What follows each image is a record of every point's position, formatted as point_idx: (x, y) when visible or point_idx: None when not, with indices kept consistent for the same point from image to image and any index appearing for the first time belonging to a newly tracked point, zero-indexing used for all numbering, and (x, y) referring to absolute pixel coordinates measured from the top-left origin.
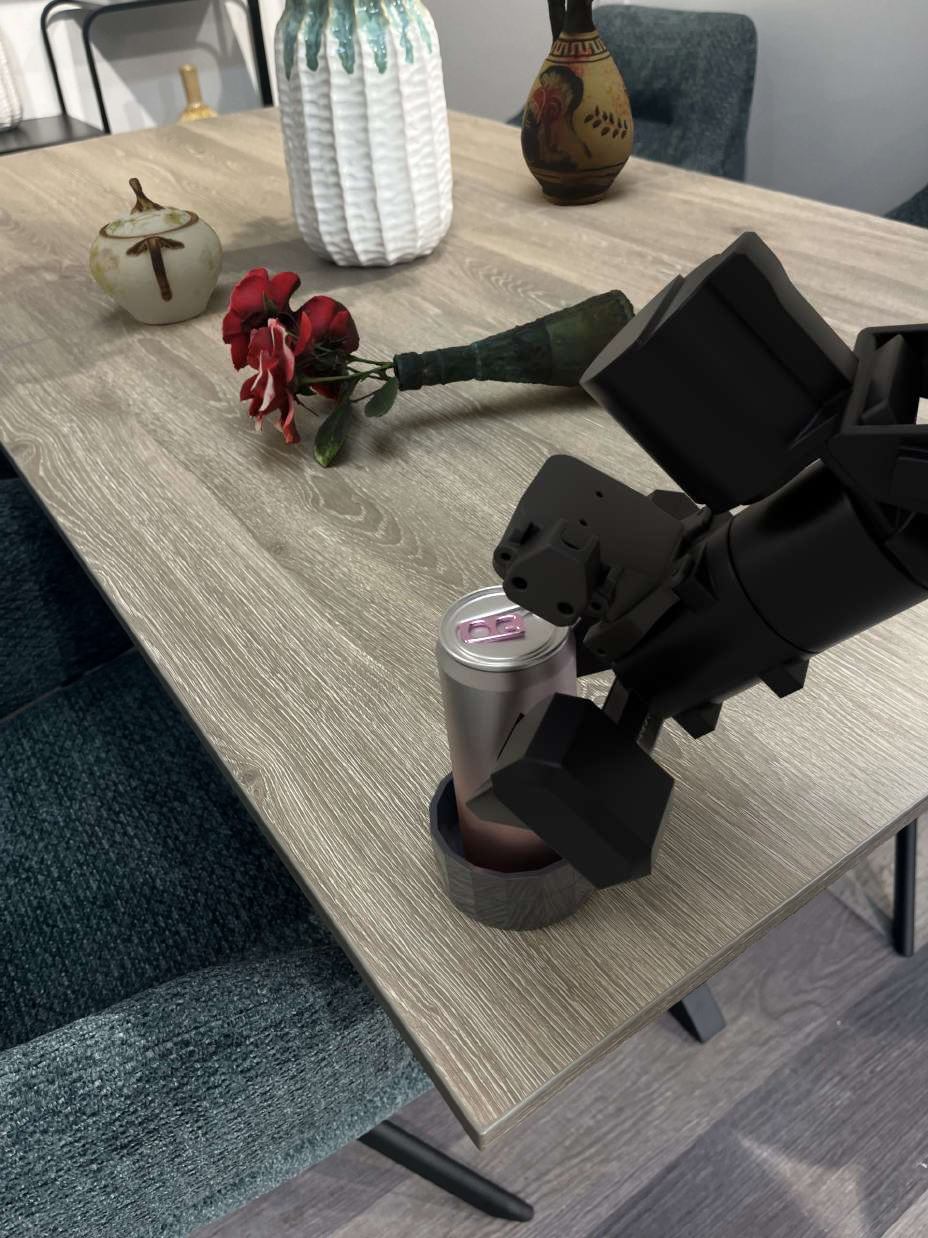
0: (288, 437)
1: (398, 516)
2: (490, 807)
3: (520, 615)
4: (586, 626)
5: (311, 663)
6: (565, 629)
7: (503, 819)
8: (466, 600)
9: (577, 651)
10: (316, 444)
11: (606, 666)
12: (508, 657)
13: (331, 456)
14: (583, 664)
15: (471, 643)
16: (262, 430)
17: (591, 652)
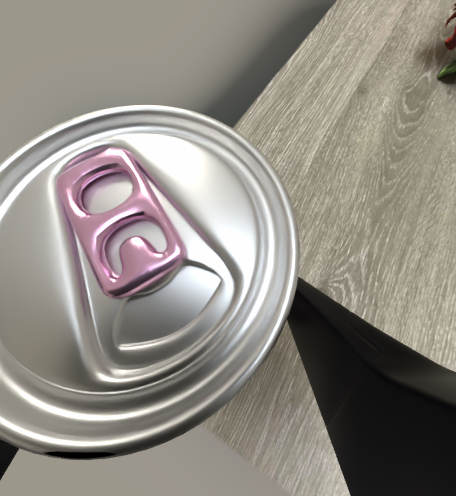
0: (450, 38)
1: (422, 127)
2: None
3: (176, 261)
4: (327, 335)
5: (293, 142)
6: (118, 444)
7: None
8: (207, 132)
9: (301, 316)
10: (453, 61)
11: (300, 351)
12: None
13: (448, 72)
14: (294, 321)
15: (47, 190)
16: (446, 25)
17: (304, 335)
